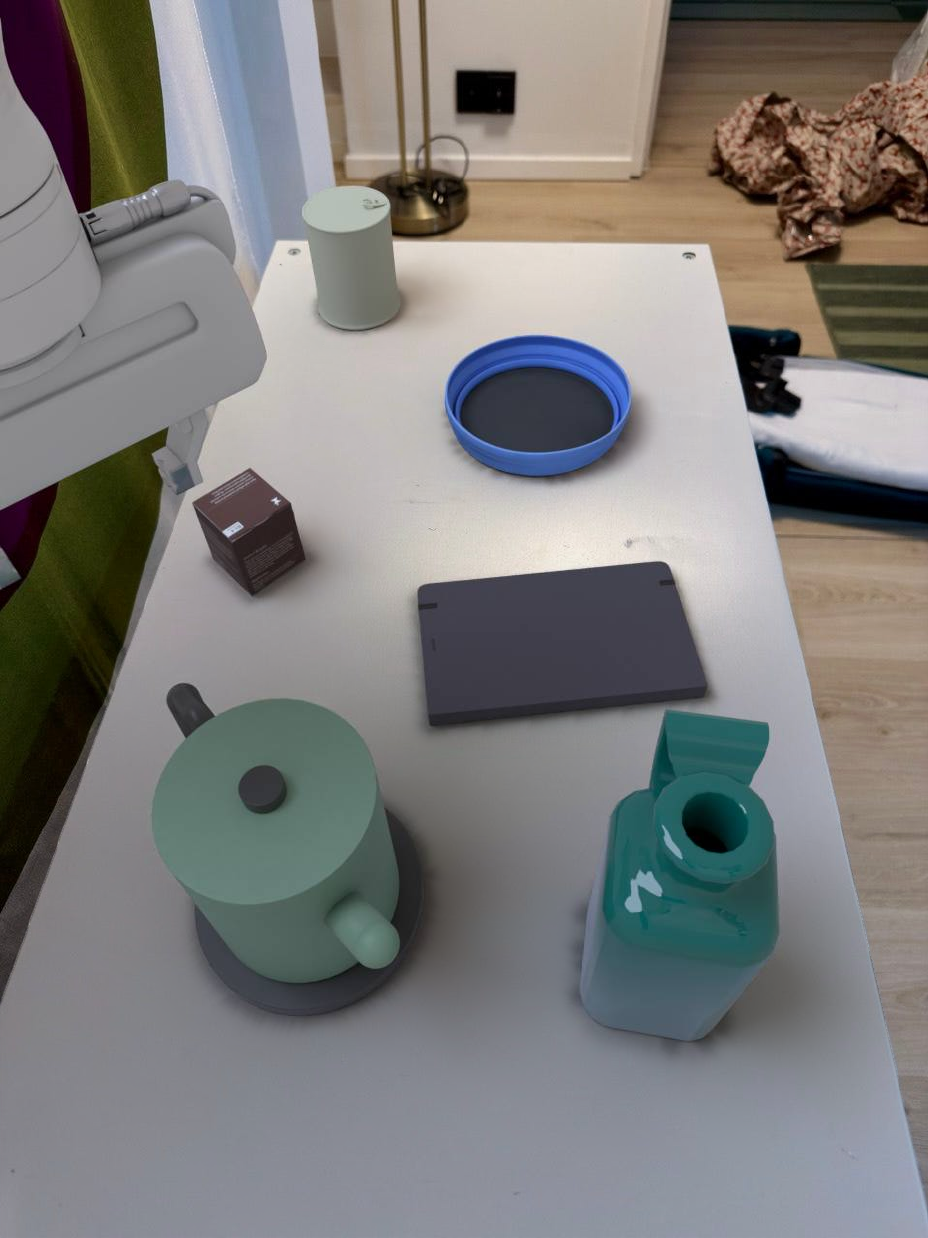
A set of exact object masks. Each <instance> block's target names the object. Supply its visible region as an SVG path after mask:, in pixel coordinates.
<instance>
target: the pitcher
mask: <svg viewBox="0 0 928 1238" xmlns="http://www.w3.org/2000/svg"><path fill="white" fill-rule="evenodd" d="M769 743H770V725H769V722H766V721H760V720H759V721H758V720H751V719H745V718H738V717H737V718H736V717H730V716H723V715H722V716H721V715H713V714H707V713H698V712H692V711H691V712H690V711H684V710H677V709H668V708H665V710H664V713H663V717H662V720H661V725H660V729H659V733H658V737H657V741H656V745H655V750H654V754H653V760H652V765H651V772H650V777H649V784H648V787H647V788H643V789H637V790H634V791H632V792H630V793H628V794H627V795H626V796H624V797H623V798H622V799H620V800H618V802H617V803H616V805H615V806H614V808H613V809H612V811H611V814H610V815H609V817H608V821H607V825H606V830H605V834H604V838H603V842H602V847H601V851H600V855H599V859H598V863H597V868H596V872H595V877H594V881H593V884H592V890H591V894H590V897H589V902H588V906H587V910H586V911H587V912H586V920H585V928H584V929H585V930H584V940H583V949H582V950H583V951H582V962H581V972H580V983H579V994H580V999H581V1002H582V1006H583V1007H584V1009H585V1010H586V1012H587V1013H588V1014H589V1015H590V1017H591V1018H592V1019H593V1020H594V1021H596V1022H597V1023H599V1024H600V1025H602V1026H604V1027H607V1028H612V1029H617V1030H623V1031H629V1032H634V1033H639V1034H646V1035H651V1036H656V1037H662V1038H667V1039H674V1040H679V1041H685V1042H694V1041H696V1040H700V1039H703V1038H705V1037H706V1036H707V1034H709V1033H710V1032H712V1030H714V1029H715V1027H716V1026H717V1025H718V1023H719V1022H720V1021H721V1019H722V1018H723V1017H724V1016H725V1015H726V1013H727V1012H728V1011H729V1010H730V1008H731V1007H732V1006H733V1005H734V1004H735V1003H736V1001H737V1000H738V998H739V997H740V996H741V995H742V994H743V993H744V991H745V990H746V989H747V987H749V985H750V984H751V983H752V981H753V980H754V979H755V978H756V976H757V975H758V974H759V973H760V971H761V970H762V969H763V967H765V966H766V964H767V962H769V960H770V959H771V958H772V957H773V955H774V953H775V950H776V948H777V945H778V943H779V940H780V938H781V933H780V932H781V929H780V902H779V901H780V899H779V870H778V842H777V841H778V840H777V835H776V832H775V822H774V820H773V817H772V816H771V813H770V811H769V809H768V807H767V805H766V803H765V801H764V799H762V797H761V796H759V795H758V794H757V793H756V791H754V789H753V788H752V787H751V783H752V782H753V779H754V776H755V774H756V772H757V771H758V769H759V767H760V766H761V764H762V762H763V760H764V758H765V756H766V753H767V750H768V746H769Z"/></svg>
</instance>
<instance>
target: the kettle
mask: <svg viewBox="0 0 928 1238" xmlns="http://www.w3.org/2000/svg"><path fill="white" fill-rule="evenodd" d="M165 699H166V701H165V702H166V706H167V708H168V709H169V712H170V713H171V715H172V718H173V719H174V720H175V722H176V724H177V726H178V727H179V729H180V731H181V733H182V735H183V736H184V738H185V739H184V740H183V741H182V742H181V743H180V745H179V746H178V747H177V748H176V749H175V750H174V752H173V753H172V755H171V756H170V757H169V759H168V760H167V762H166V763H165V766H164V767H163V770H162V772H161V774H160V776H159V778H158V781H157V784H156V786H155V789H154V793H153V798H152V804H151V814H150V816H151V830H152V835H153V840H154V844H155V846H156V849H157V852H158V853H159V857H161V859H162V861H163V863H164V865H165V866H166V868H167V869H168V870H169V871H170V873H171V874H172V875H173V876H174V878H175V879H176V880H177V882H178V883H179V884H180V886H181V887H182V889H183V890H184V891H185V892H186V894H187V895H188V896H189V897H190V899H191V900H192V901H193V903H194V905H195V904H196V905H197V906H198V908H199V909H200V910H201V912H202V913H203V914H204V915H205V917H206V918H207V919H208V921H209V922H210V923H211V925H212V926H213V927H214V928H215V930H216V931H217V932H218V934H219V935H220V936H221V938H222V939H223V940H224V941H225V943H226V944H227V945H228V947H229V948H230V949H231V951H232V952H233V953H234V954H235V955H236V957H237V958H238V959H239V960H240V961H241V962H242V963H243V964H245V965H246V966H247V967H248V968H250V969H251V970H253V971H254V972H256V973H258V974H260V975H262V976H264V977H267V978H270V979H273V980H277V981H281V982H288V983H307V982H315V981H319V980H323V979H327V978H330V977H332V976H335V975H337V974H340V973H342V972H343V971H345V970H347V969H349V968H351V967H352V966H354V965H355V964H356V963H358V962H360V963H361V964H363V965H364V966H366V967H369V968H373V969H377V968H383V967H385V966H387V965H388V964H390V963H391V962H392V961H393V960H394V959H395V957H396V956H397V954H398V951H399V947H400V939H399V935H398V932H397V930H396V929H395V928H394V926H393V925H392V924H391V923H390V922H391V920H392V918H393V915H394V912H395V909H396V906H397V901H398V896H399V870H398V866H397V861H396V857H395V853H394V848H393V844H392V840H391V835H390V831H389V827H388V822H387V818H386V814H385V809H384V807H385V805H384V801H383V796H382V793H381V788H380V783H379V779H378V775H377V771H376V766H375V762H374V760H373V757H372V754H371V751H370V748H369V746H368V745H367V744H366V741H365V740H364V738H363V737H362V735H360V733H359V732H358V731H357V729H356V728H355V727H353V725H351V723H350V722H349V721H347V719H345V718H344V717H342V716H341V715H339V714H338V713H337V712H334V711H333V710H331V709H329V708H327V707H325V706H322V705H320V704H317V703H314V702H311V701H306V700H302V699H296V698H295V699H294V698H267V699H266V698H265V699H259V700H254V701H249V702H245V703H243V704H240V705H237V706H234V707H231V708H229V709H227V710H225V711H222V712H220V713H218V714H217V715H215V714H214V713H213V711H212V710H211V708H210V707H209V706H208V705H207V703H206V702H205V701H204V700H203V697H202V695H201V693H200V691H199V690H198V688H197V687H195V686H194V685H193V684H192V683H188V682H180V683H177V684H175V685H173V686H172V687H171V688H170V689H169V690H168V691H167V694H166V698H165Z"/></svg>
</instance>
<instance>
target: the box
mask: <svg viewBox="0 0 928 1238" xmlns="http://www.w3.org/2000/svg"><path fill="white" fill-rule="evenodd" d="M191 505H192V507H193V510H194V511H195V515H196V517H197V520H198V523H199V525H200V528H201V530H202V533H203V536H204V538H205V541H206V543H207V546H208V549H209V551H210V554H211V557H212V559H213V560H214V561H215V562H216V564H217V565H219V567H221V568H222V569H223V570H224V571H225V572H226V573H227V574H228V575H229V576H230V577H231V578H232V579H233V580H234V581H235V582H236V583H237V584H238V585H240V587H241V588H243V590H244V591H245V592H246V593H247V594H248V595H250V596H252V597H253V596H255V595H256V594H257V593H259V592H261V591H262V590H263V589H265V588H266V587H267V586H269V585H271V584H272V583H273V582H275V581H276V580H279V579H280V578H281V577H283V576H284V575H285V574H287V573H289V572H290V571H291V570H293V569H294V568H296V567H297V566H299V565H300V564H302V563H303V562H305V561H307V557H306V553H305V550H304V546H303V543H302V540H301V535H300V532H299V529H298V525H297V521H296V517H295V512H294V509H293V506H292V505H293V504H292V502H291V501H290V500H288V499H287V498H286V497H285V496H284V495H282V494H281V493H280V492H279V491H278V490H276V488H274V487H273V486H272V485H271V484H270V483H269V482H267V481H266V479H264V478H263V477H261V476H260V475H259V474H258V473H257V472H256V471H255V470H253V468H251V467H248V468H247V469H245V470H244V471H242V472H241V473H239V474H237V475H235V476H234V477H232V478H231V479H229V480H227V481H225V482H224V483H222V484H221V485H219V486H217V487H216V488H214V489H212V490H211V491H209V492H207V493H206V494H204V495H202V496H201V497H199V498H197V499H196V500H193V501H192V502H191Z"/></svg>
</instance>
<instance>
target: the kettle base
mask: <svg viewBox="0 0 928 1238" xmlns="http://www.w3.org/2000/svg"><path fill="white" fill-rule="evenodd" d="M384 809H385V814H386V818H387V822H388V827H389V831H390V835H391V840H392V844H393V848H394V853H395V857H396V861H397V866H398V870H399V896H398V901H397V906H396V909H395V912H394V915H393V918H392V920H391V922H390V923H391V924H392V925H393V926H394V928H395V929H396V930H397V932H398V935H399V939H400V947H399V951H398V954H397V956H396V957H395V959H394V960H393V961H392V962H391V963H390V964H388V965H387V966H385V967H383V968H377V969H373V968H369V967H366V966H364V965H363V964H361V963H360V962H358V963H356V964H355V965H354V966H352V967H351V968H349V969H347V970H345V971H343V972H342V973H340V974H337V975H335V976H332V977H330V978H327V979H323V980H319V981H315V982H307V983H288V982H281V981H277V980H273V979H270V978H267V977H264V976H262V975H260V974H258V973H256V972H254V971H253V970H251V969H250V968H248V967H247V966H246V965H245V964H243V963H242V962H241V961H240V960H239V959H238V958H237V957H236V955H235V954H234V953H233V952H232V951H231V949H230V948H229V947H228V945H227V944H226V943H225V941H224V940H223V939H222V938H221V936H220V935H219V934H218V932H217V931H216V930H215V928H214V927H213V926H212V925H211V923H210V922H209V921H208V919H207V918H206V917H205V915H204V914H203V913H202V912H201V910H200V909H199V908H198V906H197V905H196V904H195V903H194V919H195V920H194V921H195V927H196V928H195V929H196V933H197V938H198V942H199V944H200V947H201V950H202V953H203V955H204V956H205V958H206V960H207V963H208V964H209V966H210V967H211V968H212V970H213V971H214V972H215V974H216V975H217V976H218V978H219V979H221V981H222V982H223V983H224V984H225V986H227V987H228V989H230V990H231V991H232V992H233V994H235V995H236V996H238V997H239V998H241V999H242V1000H244V1001H246V1002H247V1003H248V1004H250V1005H252V1006H255V1007H257V1008H258V1009H260V1010H264V1011H267V1012H271V1013H274V1014H279V1015H285V1016H295V1017H296V1016H297V1017H298V1016H299V1017H302V1016H305V1017H306V1016H314V1015H315V1016H316V1015H323V1014H326V1013H330V1012H334V1011H336V1010H339V1009H343V1008H344V1007H347V1006H349V1005H351V1004H354V1003H355V1002H357V1001H359V1000H361V999H362V998H364V997H366V996H368V995H369V994H371V993H372V992H373V991H374V990H376V989H378V987H380V986H381V985H382V984H383V983H384V982H385V981H386V980H387V979H388V978H389V977H391V975H393V973H394V972H395V971H396V969H397V968H398V966H400V964H401V963H402V962H403V960H404V958H405V957H406V955H407V954H408V952H409V951H410V948H411V947H412V944H413V942H414V940H415V938H416V935H417V934H418V929H419V926H420V924H421V921H422V920H421V919H422V915H423V909H424V897H425V888H424V878H423V877H424V876H423V871H422V865H421V862H420V858H419V857H420V856H419V854H418V851H417V849H416V846H415V843H414V841H413V840H412V837H411V836H410V834H409V833H408V831H407V829H406V827H405V826H404V825H403V824H402V822H401V821H400V820H399V819H398V817H396V816H395V815H394V814H393V813H392V812H391V811H390V810H389V809H388V808H387V807H385V806H384Z"/></svg>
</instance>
